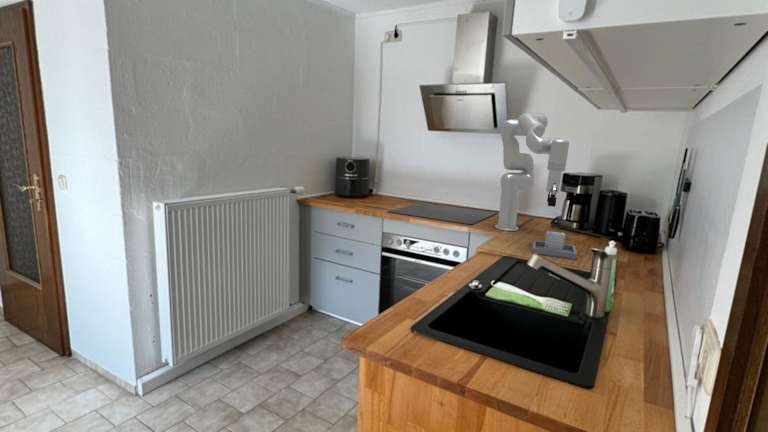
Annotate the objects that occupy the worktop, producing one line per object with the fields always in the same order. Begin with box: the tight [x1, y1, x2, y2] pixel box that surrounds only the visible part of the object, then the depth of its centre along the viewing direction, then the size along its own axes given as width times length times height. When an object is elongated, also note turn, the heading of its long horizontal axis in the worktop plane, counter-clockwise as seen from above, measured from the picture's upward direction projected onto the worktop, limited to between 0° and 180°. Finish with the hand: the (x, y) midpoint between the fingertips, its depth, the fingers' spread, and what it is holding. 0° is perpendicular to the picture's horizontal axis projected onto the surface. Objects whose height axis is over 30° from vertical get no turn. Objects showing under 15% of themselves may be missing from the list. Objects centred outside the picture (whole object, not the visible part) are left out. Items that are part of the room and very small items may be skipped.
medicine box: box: [544, 230, 566, 251], centre depth 186 cm, size 8×4×9 cm, turn 69°
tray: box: [532, 240, 578, 260], centre depth 187 cm, size 14×18×3 cm
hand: (551, 204), depth 189 cm, fingers open, 9 cm apart
